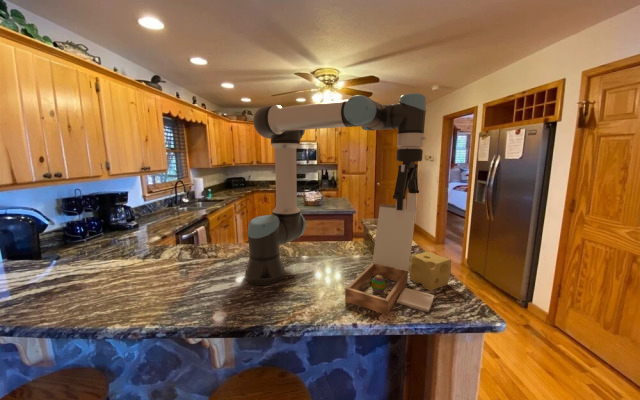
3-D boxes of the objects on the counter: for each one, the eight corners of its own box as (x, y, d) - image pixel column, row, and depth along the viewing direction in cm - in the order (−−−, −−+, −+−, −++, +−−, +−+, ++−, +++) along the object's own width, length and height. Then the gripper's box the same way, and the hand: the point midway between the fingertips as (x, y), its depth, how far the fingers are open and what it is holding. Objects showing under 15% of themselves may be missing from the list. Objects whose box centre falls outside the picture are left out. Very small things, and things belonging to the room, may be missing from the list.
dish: (397, 302, 84) (397, 300, 84) (404, 290, 92) (405, 287, 92) (428, 312, 79) (429, 309, 79) (434, 298, 87) (434, 295, 87)
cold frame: (345, 301, 85) (346, 260, 83) (376, 268, 109) (377, 236, 107) (387, 315, 78) (389, 271, 75) (410, 277, 102) (412, 243, 99)
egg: (385, 288, 93) (386, 273, 92) (385, 295, 88) (386, 279, 87) (371, 287, 94) (372, 271, 93) (371, 294, 89) (371, 277, 88)
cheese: (430, 291, 91) (432, 264, 90) (407, 278, 101) (408, 254, 99) (449, 285, 96) (452, 259, 94) (426, 273, 105) (427, 249, 104)
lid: (380, 203, 105) (380, 203, 106) (372, 262, 104) (373, 262, 105) (415, 207, 98) (416, 207, 99) (408, 271, 97) (408, 270, 98)
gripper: (412, 147, 67) (407, 226, 70) (430, 149, 88) (425, 210, 91) (384, 147, 71) (381, 222, 74) (407, 149, 92) (403, 208, 95)
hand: (405, 216), depth 83 cm, fingers open, 13 cm apart
